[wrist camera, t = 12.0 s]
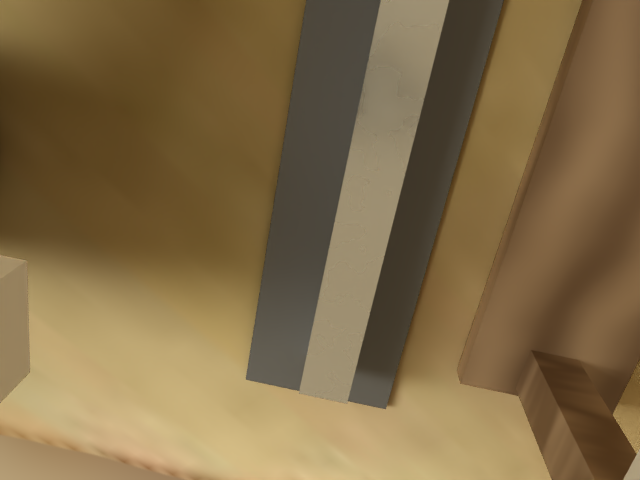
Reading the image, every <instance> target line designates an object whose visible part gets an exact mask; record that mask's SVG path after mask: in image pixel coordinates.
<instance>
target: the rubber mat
mask: <svg viewBox="0 0 640 480" xmlns="http://www.w3.org/2000/svg"><path fill="white" fill-rule="evenodd" d="M380 1H381V0H306V6H305V12H304V18H303V24H302V31H301V37H300V43H299V49H298V56H297V62H296V68H295V74H294V81H293V87H292V93H291V100H290V106H289V112H288V118H287V125H286V131H285V137H284V143H283V150H282V156H281V162H280V168H279V175H278V181H277V187H276V193H275V200H274V206H273V212H272V219H271V225H270V231H269V237H268V244H267V250H266V256H265V262H264V269H263V275H262V281H261V287H260V294H259V300H258V306H257V312H256V319H255V325H254V331H253V338H252V344H251V350H250V356H249V363H248V369H247V375H246V380H250V381H255V382H260V383H264V384H269V385H274V386H279V387H283V388H288V389H293V390H297V391H299V390H300V385H301V380H302V375H303V370H304V365H305V360H306V355H307V351H308V346H309V341H310V336H311V331H312V327H313V322H314V317H315V312H316V307H317V303H318V298H319V293H320V288H321V283H322V279H323V274H324V269H325V264H326V260H327V255H328V250H329V245H330V240H331V236H332V231H333V226H334V221H335V216H336V212H337V207H338V202H339V197H340V192H341V188H342V183H343V178H344V173H345V168H346V164H347V159H348V154H349V149H350V145H351V140H352V135H353V130H354V125H355V121H356V116H357V111H358V106H359V101H360V97H361V92H362V87H363V82H364V77H365V73H366V68H367V63H368V58H369V53H370V49H371V44H372V39H373V34H374V30H375V25H376V20H377V15H378V10H379V6H380ZM503 1H504V0H449V3H448V7H447V11H446V15H445V19H444V23H443V27H442V31H441V35H440V39H439V43H438V47H437V51H436V54H435V58H434V62H433V66H432V70H431V74H430V78H429V82H428V86H427V90H426V94H425V98H424V102H423V106H422V110H421V114H420V118H419V122H418V125H417V129H416V133H415V137H414V141H413V145H412V149H411V153H410V157H409V161H408V165H407V169H406V173H405V177H404V181H403V185H402V189H401V193H400V196H399V200H398V204H397V208H396V212H395V216H394V220H393V224H392V228H391V232H390V236H389V240H388V244H387V248H386V252H385V256H384V260H383V264H382V268H381V271H380V275H379V279H378V283H377V287H376V291H375V295H374V299H373V303H372V307H371V311H370V315H369V319H368V323H367V327H366V331H365V335H364V339H363V342H362V346H361V350H360V354H359V358H358V362H357V366H356V370H355V374H354V378H353V382H352V386H351V390H350V394H349V398H348V401H350V402H354V403H359V404H364V405H369V406H373V407H378V408H383V409H386V407H387V403H388V400H389V396H390V393H391V389H392V386H393V382H394V379H395V375H396V372H397V368H398V365H399V361H400V358H401V355H402V351H403V348H404V344H405V341H406V337H407V334H408V330H409V327H410V323H411V320H412V316H413V313H414V309H415V306H416V303H417V299H418V296H419V292H420V289H421V285H422V282H423V278H424V275H425V271H426V268H427V264H428V261H429V257H430V254H431V251H432V247H433V244H434V240H435V237H436V233H437V230H438V226H439V223H440V219H441V216H442V212H443V209H444V205H445V202H446V199H447V195H448V192H449V188H450V185H451V181H452V178H453V174H454V171H455V167H456V164H457V160H458V157H459V153H460V150H461V147H462V143H463V140H464V136H465V133H466V129H467V126H468V122H469V119H470V115H471V112H472V108H473V105H474V101H475V98H476V95H477V91H478V88H479V84H480V81H481V77H482V74H483V70H484V67H485V63H486V60H487V56H488V53H489V49H490V46H491V43H492V39H493V36H494V32H495V29H496V25H497V22H498V18H499V15H500V11H501V8H502V4H503Z"/></svg>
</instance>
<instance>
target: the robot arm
mask: <svg viewBox="0 0 640 480" xmlns="http://www.w3.org/2000/svg"><path fill="white" fill-rule="evenodd" d="M29 373H30V352H29V314H28V277H27V260H22V259H17V258H13V257H8V256H3V255H0V403H1V402H2V400H3V399H4V398H5V397H6V396H7V395H8V394H9V393H10V392H11V391H12V390H13V389H14V388H15V387H16V386H17V385H18V384H19V383H20V382H21V381H22V380H23V379H24V378H25V377H26V376H27V375H28V374H29ZM623 480H640V449H639V451H638V453H637V455H636V457H635V459H634V461H633V462H632V464H631V466H630V468H629V470H628V472H627V473H626V475H625V477H624V479H623Z"/></svg>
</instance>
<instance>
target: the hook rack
mask: <svg viewBox="0 0 640 480" xmlns="http://www.w3.org/2000/svg"><path fill="white" fill-rule="evenodd" d="M639 359H640V0H583V1H582V4H581V7H580V9H579V12H578V15H577V18H576V21H575V24H574V27H573V30H572V33H571V36H570V39H569V42H568V45H567V48H566V51H565V54H564V57H563V59H562V62H561V65H560V68H559V71H558V74H557V77H556V80H555V83H554V86H553V89H552V92H551V95H550V98H549V101H548V104H547V107H546V109H545V112H544V115H543V118H542V121H541V124H540V127H539V130H538V133H537V136H536V139H535V142H534V145H533V148H532V151H531V154H530V157H529V159H528V162H527V165H526V168H525V171H524V174H523V177H522V180H521V183H520V186H519V189H518V192H517V195H516V198H515V201H514V204H513V207H512V209H511V212H510V215H509V218H508V221H507V224H506V227H505V230H504V233H503V236H502V239H501V242H500V245H499V248H498V251H497V254H496V257H495V259H494V262H493V265H492V268H491V271H490V274H489V277H488V280H487V283H486V286H485V289H484V292H483V295H482V298H481V301H480V304H479V307H478V309H477V312H476V315H475V318H474V321H473V324H472V327H471V330H470V333H469V336H468V339H467V342H466V345H465V348H464V351H463V354H462V357H461V359H460V362H459V365H458V368H457V372H458V376H459V380H460V384H465V385H470V386H475V387H479V388H484V389H489V390H494V391H498V392H503V393H508V394H513V395H517V396H519V398H520V401H521V403H522V406H523V408H524V411H525V413H526V416H527V418H528V421H529V423H530V426H531V428H532V431H533V433H534V436H535V439H536V441H537V444H538V446H539V449H540V451H541V454H542V456H543V459H544V461H545V464H546V466H547V469H548V471H549V474H550V476H551V479H552V480H623V479H624V477H625V475H626V473H627V472H628V470H629V468H630V466H631V464H632V462H633V461H634V459H635V457H636V455H637V454H636V452H635V451H634V449H633V448H632V446H631V444H630V443H629V441H628V439H627V438H626V436H625V435H624V433H623V431H622V430H621V428H620V426H619V425H618V423H617V422H616V420H615V418H614V417H613V415H612V414H613V412H614V410H615V408H616V406H617V404H618V402H619V400H620V398H621V396H622V394H623V392H624V390H625V388H626V386H627V384H628V382H629V380H630V378H631V376H632V374H633V371H634V369H635V367H636V365H637V363H638V361H639Z"/></svg>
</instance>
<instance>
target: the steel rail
mask: <svg viewBox="0 0 640 480" xmlns="http://www.w3.org/2000/svg"><path fill="white" fill-rule="evenodd" d="M448 3H449V0H381V1H380V6H379V10H378V15H377V20H376V25H375V30H374V34H373V39H372V44H371V49H370V53H369V58H368V63H367V68H366V73H365V77H364V82H363V87H362V92H361V97H360V101H359V106H358V111H357V116H356V121H355V125H354V130H353V135H352V140H351V145H350V149H349V154H348V159H347V164H346V168H345V173H344V178H343V183H342V188H341V192H340V197H339V202H338V207H337V212H336V216H335V221H334V226H333V231H332V236H331V240H330V245H329V250H328V255H327V260H326V264H325V269H324V274H323V279H322V283H321V288H320V293H319V298H318V303H317V307H316V312H315V317H314V322H313V327H312V331H311V336H310V341H309V346H308V351H307V355H306V360H305V365H304V370H303V375H302V380H301V385H300V390H299V394H304V395H309V396H313V397H318V398H323V399H327V400H332V401H337V402H342V403H346V404H347V402H348V398H349V394H350V390H351V386H352V382H353V378H354V374H355V370H356V366H357V362H358V358H359V354H360V350H361V346H362V342H363V339H364V335H365V331H366V327H367V323H368V319H369V315H370V311H371V307H372V303H373V299H374V295H375V291H376V287H377V283H378V279H379V275H380V271H381V268H382V264H383V260H384V256H385V252H386V248H387V244H388V240H389V236H390V232H391V228H392V224H393V220H394V216H395V212H396V208H397V204H398V200H399V196H400V193H401V189H402V185H403V181H404V177H405V173H406V169H407V165H408V161H409V157H410V153H411V149H412V145H413V141H414V137H415V133H416V129H417V125H418V122H419V118H420V114H421V110H422V106H423V102H424V98H425V94H426V90H427V86H428V82H429V78H430V74H431V70H432V66H433V62H434V58H435V54H436V51H437V47H438V43H439V39H440V35H441V31H442V27H443V23H444V19H445V15H446V11H447V7H448Z"/></svg>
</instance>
